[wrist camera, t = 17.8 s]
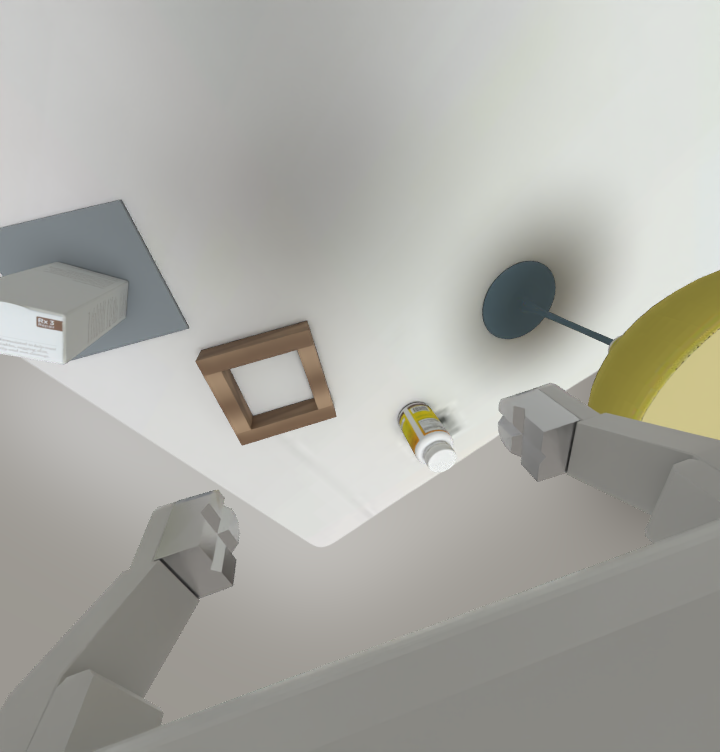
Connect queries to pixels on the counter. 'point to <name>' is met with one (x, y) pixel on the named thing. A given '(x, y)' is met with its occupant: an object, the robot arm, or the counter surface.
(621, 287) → the counter surface
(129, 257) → the slate mat
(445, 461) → the supplement bottle
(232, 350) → the walnut collar
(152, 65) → the counter surface
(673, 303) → the cocktail glass
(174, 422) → the counter surface
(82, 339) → the skincare box
